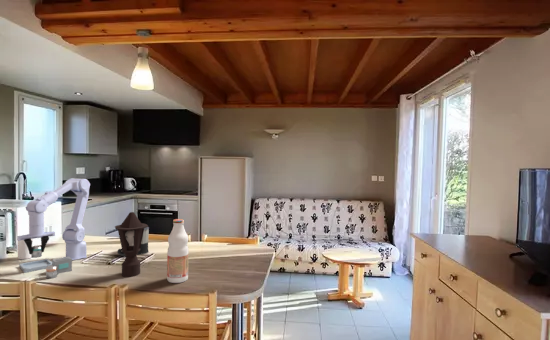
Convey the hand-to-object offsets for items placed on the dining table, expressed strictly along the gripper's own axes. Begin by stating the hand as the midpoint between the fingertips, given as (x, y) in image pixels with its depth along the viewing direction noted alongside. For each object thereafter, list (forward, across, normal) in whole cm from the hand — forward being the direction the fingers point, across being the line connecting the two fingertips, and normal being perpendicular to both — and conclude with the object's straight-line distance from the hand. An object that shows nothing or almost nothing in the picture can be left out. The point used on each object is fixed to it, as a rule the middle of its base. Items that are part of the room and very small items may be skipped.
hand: (36, 252), depth 153 cm
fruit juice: (+9, -42, +58) cm, 72 cm away
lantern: (+9, -30, +36) cm, 48 cm away
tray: (+9, -1, -6) cm, 11 cm away
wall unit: (+9, -8, +9) cm, 15 cm away
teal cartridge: (+2, 0, 0) cm, 2 cm away
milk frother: (+9, -45, +5) cm, 46 cm away
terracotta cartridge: (+9, -3, +15) cm, 17 cm away
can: (+9, 0, -27) cm, 29 cm away
